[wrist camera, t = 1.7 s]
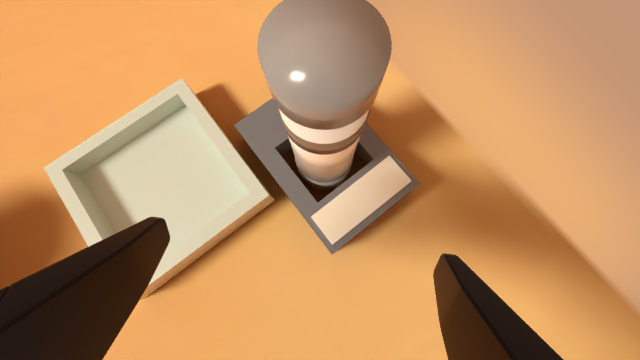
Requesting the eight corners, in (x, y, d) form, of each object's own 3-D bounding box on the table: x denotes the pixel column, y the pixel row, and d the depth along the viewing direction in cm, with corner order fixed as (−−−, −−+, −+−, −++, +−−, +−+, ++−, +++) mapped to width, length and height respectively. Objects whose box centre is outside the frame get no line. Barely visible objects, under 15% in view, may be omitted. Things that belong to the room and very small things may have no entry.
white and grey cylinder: (361, 167, 23) (419, 52, 9) (319, 200, 22) (312, 130, 8) (328, 128, 23) (334, -33, 10) (286, 158, 23) (231, 33, 9)
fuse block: (409, 190, 22) (420, 182, 19) (331, 253, 21) (332, 254, 18) (317, 84, 24) (316, 65, 22) (243, 137, 23) (232, 124, 21)
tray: (274, 200, 22) (269, 194, 20) (144, 298, 20) (121, 305, 18) (195, 93, 24) (181, 77, 22) (72, 175, 23) (43, 167, 20)
